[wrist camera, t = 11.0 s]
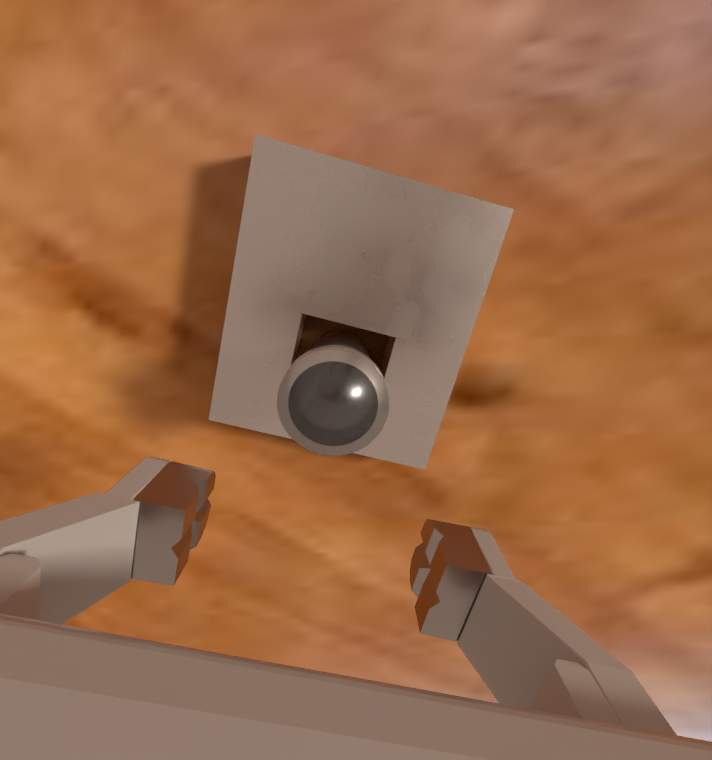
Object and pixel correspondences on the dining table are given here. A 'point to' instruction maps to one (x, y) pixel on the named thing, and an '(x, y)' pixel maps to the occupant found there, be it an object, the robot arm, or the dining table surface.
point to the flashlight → (333, 396)
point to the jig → (353, 286)
